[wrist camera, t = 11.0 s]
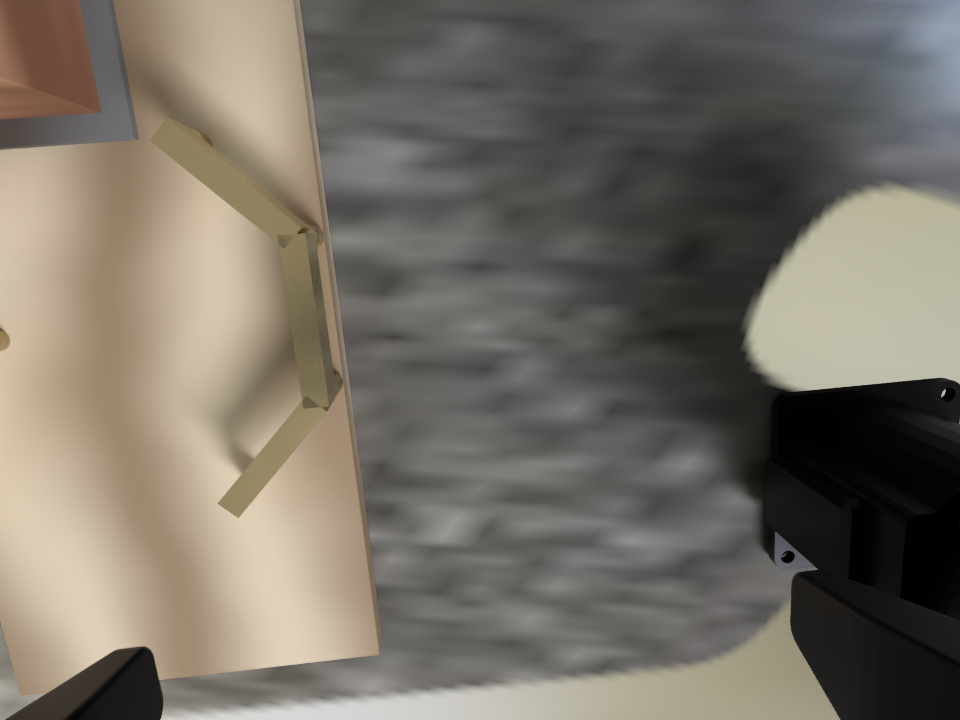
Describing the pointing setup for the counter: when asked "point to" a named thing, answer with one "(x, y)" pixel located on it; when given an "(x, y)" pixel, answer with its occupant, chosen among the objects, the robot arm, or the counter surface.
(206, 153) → the bent wooden frame
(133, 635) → the beige board
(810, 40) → the counter surface
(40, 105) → the block
